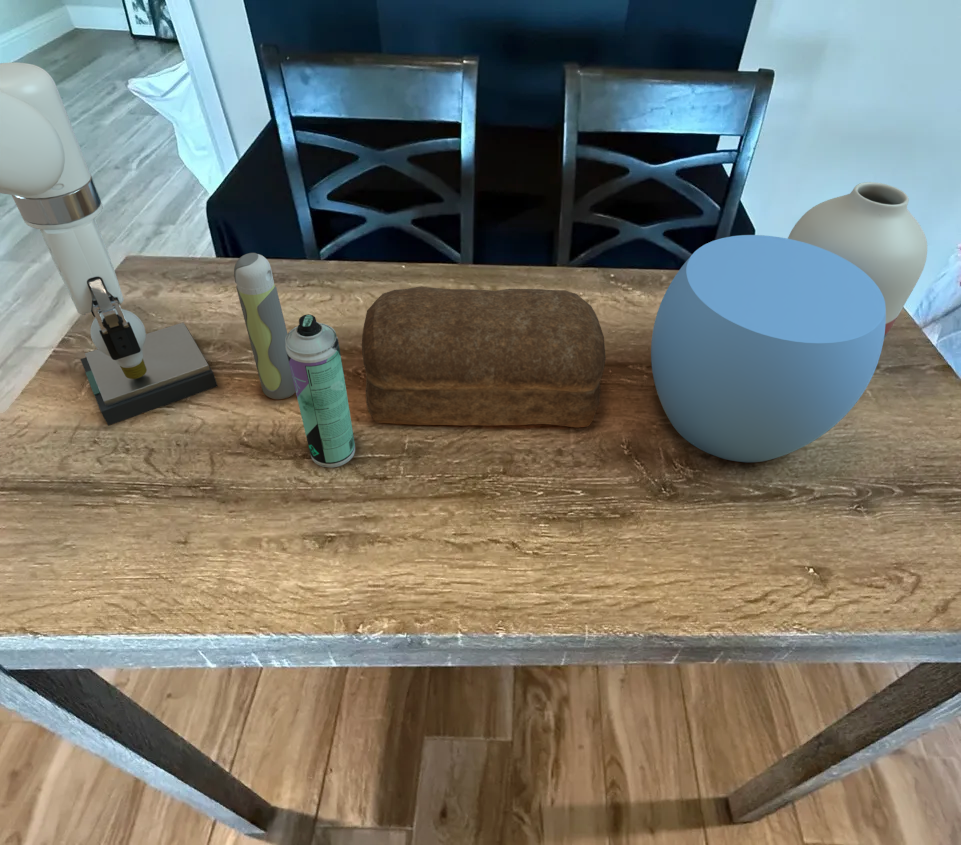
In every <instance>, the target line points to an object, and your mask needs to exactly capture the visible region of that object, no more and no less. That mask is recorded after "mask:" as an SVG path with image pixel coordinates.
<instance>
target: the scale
mask: <svg viewBox="0 0 961 845" xmlns="http://www.w3.org/2000/svg"><path fill="white" fill-rule="evenodd" d="M142 350H143V360H144V364H145V366H146V369H147V371H146V373H145V374H144V375H143V376H142V377H141V378H139V379H129V378H127V377H126V376H125V374H124V373H123V371H122V369H121V367H120V365H118V364H117V363H116V362H115V361H114V360H113V359H112V358H111V357H110V356H108V355H106V354H104V353H102V352H101V351H100V350H99V349H98V348H97V349H94V350H91V351H88V352H84V357H82V358H80V361H81V364H82V367H83V369H84V372H85V375H86V378H87V381H88V383H89V385H90V389H91V391H92V394H93V396H94V398H95V400H96V404H97V406H98V408H99V411H100V413H101V415H102V417H103V419H104V421H105V423H106V425H107V426H108V427H109V426H111V425H115V424H117V423H120V422H123V421H125V420H129V419H131V418H134V417H137V416H139V415H143V414H145V413H147V412H150V411H153V410H157V409H158V408H159V409H160V408H161V407H165V406H167V405H170V404H173V403H176V402H179V401H181V400H184V399H187V398H189V397H193V396H195V395H198V394H201V393H204V392H206V391H209V390H211V389H214V388H217V387H219V386H218V382H217V380H216V377H215V373H214V371H213V369H212V368H211V366H210V364H209V362H208V361H207V360H206V358H205V356H204V354H203V353H202V351H201V349H200V347H199V346H198V344H197V342H196V340H195V339H194V337H193V335H192V334H191V332H190V330H189V328H188V327H187V326H186V324H185V322H180V323H176V324H174V325H171V326H167V327H164V328H161V329H157V330H154V331H151V332H148V333H146V338H145V342H144V345H143V349H142Z"/></svg>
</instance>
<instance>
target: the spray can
mask: <svg viewBox="0 0 961 845" xmlns="http://www.w3.org/2000/svg"><path fill="white" fill-rule="evenodd" d="M285 343H286V352H287V356H288V360H289V365H290V369H291V373H292V378H293V382H294V386H295V391H296V393H295V395H296V397H297V398H296V399H297V404H298V407H299V411H300V416H301V420H302V424H303V430H304V434H305V439H306V442H307V446H308V450H309V455H310V457H311V460H312V461H313V463H315V464H316V465H318V466H320V467H323V468H330V469H331V468H338V467H341V466H343V465H345V464H347V463H348V462H349V461H351V460H352V459H353V457H354V456H355V454H356V442H355V437H354V430H353V424H352V418H351V411H350V406H349V405H350V404H349V400H348V392H347V387H346V381H345V380H346V379H345V374H344V368H343V362H342V355H341V349H340V344H339V343H340V342H339V339H338V336H337V332H336V330H335V329H334V328H333V327H332V326H330V325H328V324H326V323H321V322H319V321H317V319H316V317H315V315H313V314H303V315H301V316H300V317H299V318H298V325H297V326H295V327H293V328H292V329H291V330H290V331H289V332H287V336H286V338H285Z"/></svg>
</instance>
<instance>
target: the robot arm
mask: <svg viewBox="0 0 961 845" xmlns="http://www.w3.org/2000/svg"><path fill="white" fill-rule="evenodd" d="M72 125H73V124H72V123H71V120H70V118H69V115H68V112H67V110H66V106H65V104H64V102H63V99H62V97H61V94H60V92H59V90H58V87H57V84H56V82H55V80H54V79H53V77H52V76H51V74H49V72H48V71H47V70H45V68H42V67H40V66H38V65H36V64H32V63H27V62H16V61H15V62H13V61H11V62H1V63H0V194H3V195H9V196H11V197H12V199H13V201H14V203H15V206H16V207H17V209H18V212H19V214H20V216H21V218H22V221H23V222H24V224H25V225H27V226H28V227H30V228H32V229H36V230H39V232H40V233H41V236H42V238H43V241H44V243H45V246H46V247H47V250H48V252H49V255H50V256H51V259H52V261H53V263H54V265H55V267H56V269H57V271H58V273H59V276H60V278H61V280H62V282H63V284H64V286H65V289H66V290H67V292H68V295H69V298H70V299H71V301H72V304H73V305H74V308H75V309H76V312H77V313H78V314H79V315H81V316H86V314H90V313H91V315H92V317H94V318H96V319H97V321H98V324H99V326H100V328H101V330H100V331H99V332H100V334H101V336H102V338H103V341H104V343H105V345H106V347H107V349H108V352H109V354H110V356H111V358H112V359H113V360H118V359H121V358H124V357H127V356H130V355H133V354H137V353H139V352H140V351H141V349H140V347H139V344H138V342H137V339H136V337H135V334H134V332H133V330H132V327H131V325H130V323H129V322H127V321H126V319H125V316H124V314H123V312H122V309H123V308H121V305H122V304H123V302H124V300H125V298H124V295H123V292H122V288H121V286H120V282H119V280H118V276H117V273H116V270H115V266H114V264H113V261H112V258H111V256H110V254H109V251H108V247H107V245H106V242H105V240H104V237H103V234H102V232H101V229H100V227H99V225H98V222H97V220H96V217H98V216H99V215H100V214H101V213H102V211H103V209H104V204H103V202H102V200H101V197H100V194H99V192H98V189H97V187H96V184H95V181H94V179H93V176H92V174H91V171H90V169H89V166H88V164H87V163H88V162H87V160H86V159H85V156H84V153H83V150H82V149H81V145H80V143H79V141H78V137H77V135H76V133H75V131H74V128H73V126H72ZM114 308H115V309H116V311H117V313H118V314H117V315H116V313H115V310H114ZM101 312H102V314H103V316H104V318H103V320H102V318H101V316H100V313H101Z"/></svg>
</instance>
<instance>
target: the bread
mask: <svg viewBox="0 0 961 845" xmlns="http://www.w3.org/2000/svg"><path fill="white" fill-rule="evenodd" d="M361 354H362V363H363V367H364V371H365V376H366V377H365V380H366V381H365V403H366V407H367V411H368V413H369V415H370V416H371V417H372V418H371V419H373V420H374V422H375V423H379V424H396V425H417V426H419V425H421V426H422V425H424V426H426V425H428V426H429V425H432V426H436V425H437V426H439V425H440V426H443V425H444V426H445V425H447V426H487V427H488V426H489V427H490V426H524V425H525V426H527V425H554V426H563V427H569V428H586V427H590V426H591V424H592V422H593V421H594V419H595V416H596V413H597V411H598V408H599V406H600V401H601V379H602V377H603V373H604V369H605V365H606V349H605V337H604V333H603V330H602V327H601V324H600V321H599V318H598V316H597V314H596V312H595V309H594V308H593V306H591V305H590V304H589V302H587V301H586V300H584V298H583V297H581V296H580V295H579V294H577V293H575V292H572V291H569V290H565V289H564V290H563V289H545V288H544V289H542V288H506V289H498V290H491V289H471V288H442V287H440V288H439V287H430V286H415V287H410V288H400V289H399V288H398V289H393V290H390V291H387V292H383V293H381V294H380V296H379V297H377V298H376V300H374V301H373V303H372V304H371V305H370V307H368V309H367V310H366V313H365V318H364V324H363V329H362V335H361Z"/></svg>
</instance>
